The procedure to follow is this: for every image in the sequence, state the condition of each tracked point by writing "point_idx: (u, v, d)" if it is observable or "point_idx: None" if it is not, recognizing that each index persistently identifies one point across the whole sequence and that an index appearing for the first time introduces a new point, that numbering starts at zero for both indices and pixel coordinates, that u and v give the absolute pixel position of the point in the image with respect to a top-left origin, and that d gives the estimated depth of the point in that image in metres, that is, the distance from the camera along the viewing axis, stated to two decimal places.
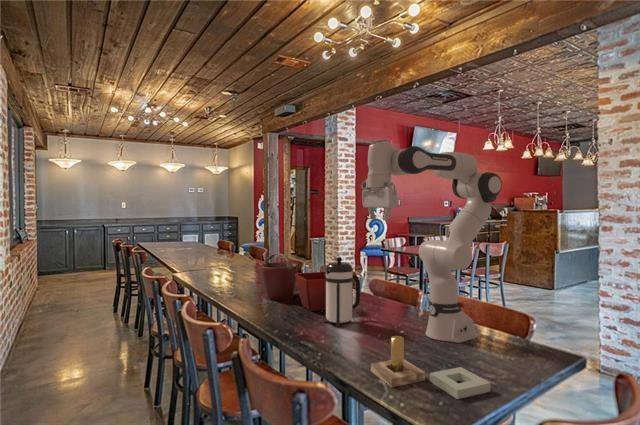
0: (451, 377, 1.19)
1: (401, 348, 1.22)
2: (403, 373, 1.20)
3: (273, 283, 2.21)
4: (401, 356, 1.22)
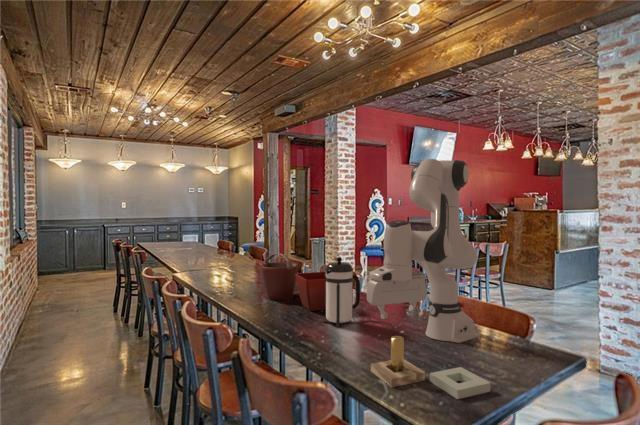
0: (451, 377, 1.19)
1: (401, 348, 1.22)
2: (403, 373, 1.20)
3: (273, 283, 2.21)
4: (401, 356, 1.22)
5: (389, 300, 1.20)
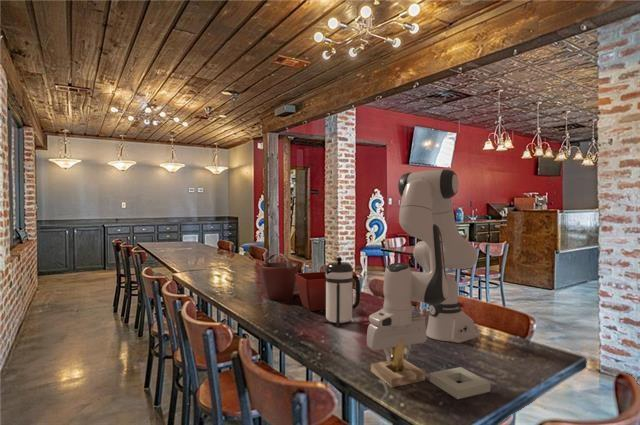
0: (451, 377, 1.19)
1: (401, 348, 1.22)
2: (403, 373, 1.20)
3: (273, 283, 2.21)
4: (401, 356, 1.22)
5: (389, 344, 1.20)
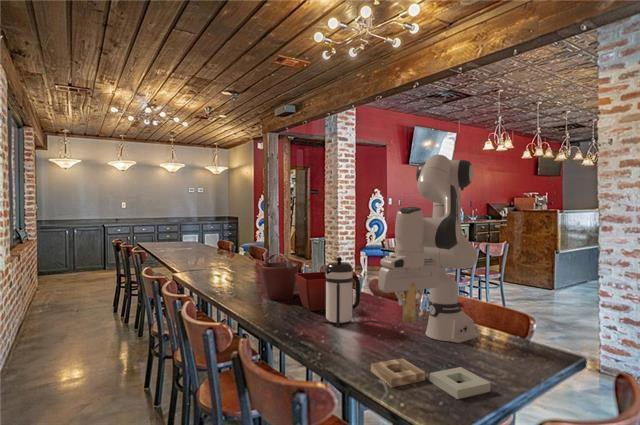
0: (451, 377, 1.19)
1: (413, 292, 1.20)
2: (403, 373, 1.20)
3: (273, 283, 2.21)
4: (413, 300, 1.20)
5: (401, 287, 1.18)
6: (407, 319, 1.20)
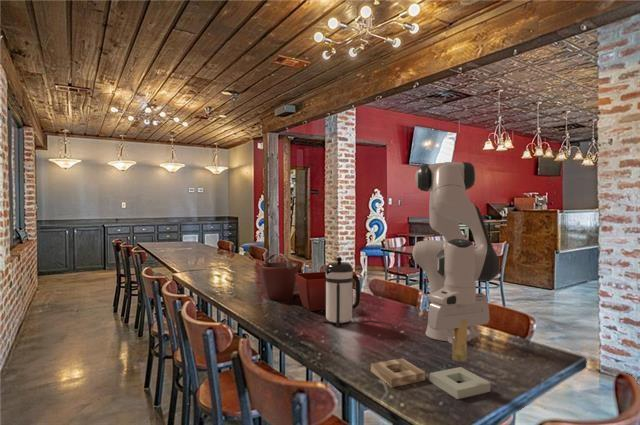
0: (451, 377, 1.19)
1: (465, 329, 1.14)
2: (403, 373, 1.20)
3: (273, 283, 2.21)
4: (465, 337, 1.14)
5: (452, 325, 1.13)
6: (458, 358, 1.14)
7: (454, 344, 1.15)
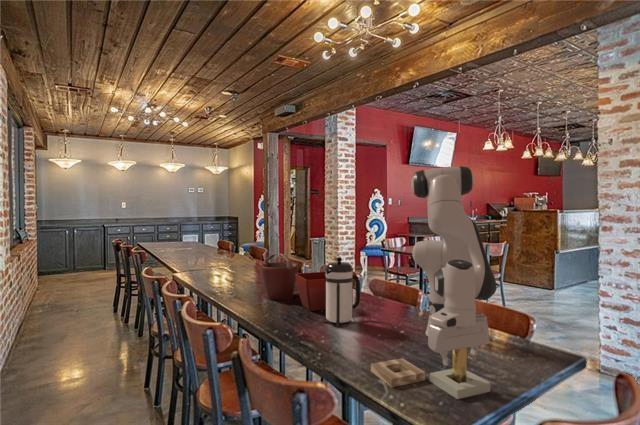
0: (451, 377, 1.19)
1: (464, 357, 1.14)
2: (403, 373, 1.20)
3: (273, 283, 2.21)
4: (465, 365, 1.15)
5: (452, 346, 1.13)
6: None
7: (454, 372, 1.15)
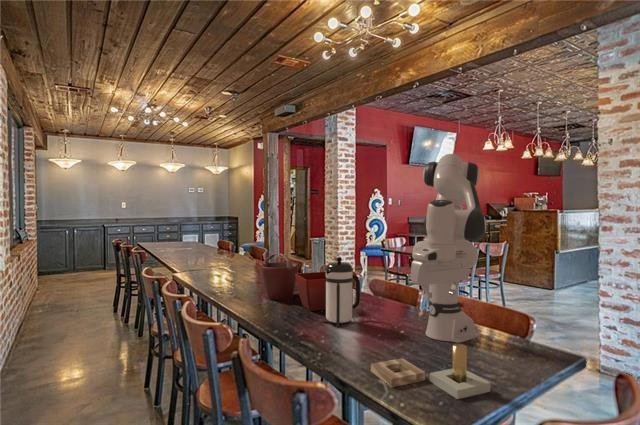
0: (451, 377, 1.19)
1: (464, 357, 1.14)
2: (403, 373, 1.20)
3: (273, 283, 2.21)
4: (465, 365, 1.15)
5: (434, 280, 1.19)
6: None
7: (454, 372, 1.15)
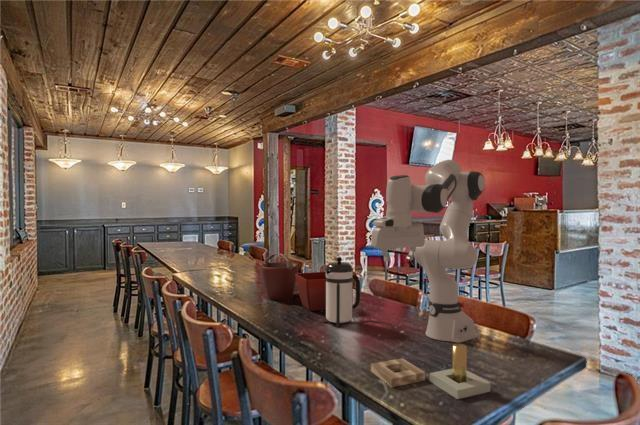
0: (451, 377, 1.19)
1: (464, 357, 1.15)
2: (403, 373, 1.20)
3: (273, 283, 2.21)
4: (465, 365, 1.15)
5: (391, 244, 1.35)
6: None
7: (454, 372, 1.15)
